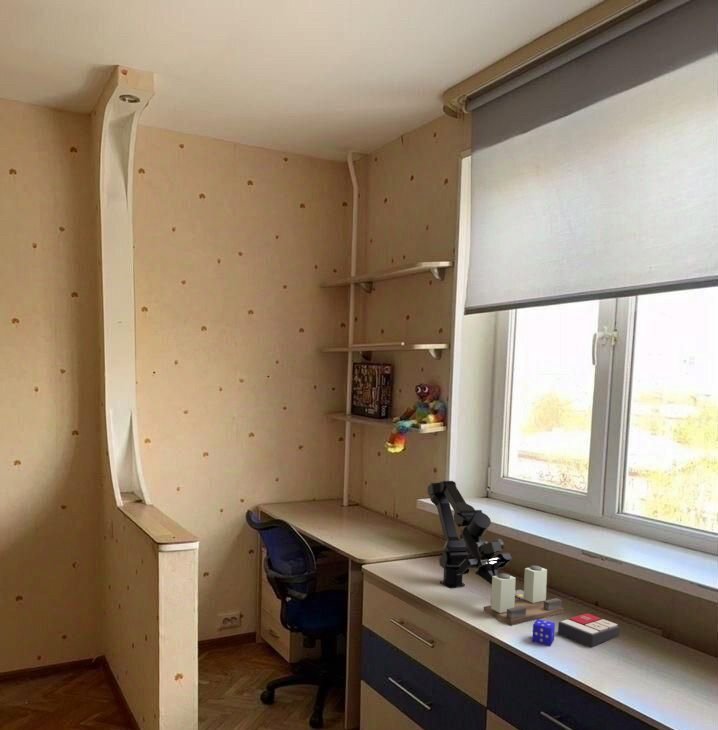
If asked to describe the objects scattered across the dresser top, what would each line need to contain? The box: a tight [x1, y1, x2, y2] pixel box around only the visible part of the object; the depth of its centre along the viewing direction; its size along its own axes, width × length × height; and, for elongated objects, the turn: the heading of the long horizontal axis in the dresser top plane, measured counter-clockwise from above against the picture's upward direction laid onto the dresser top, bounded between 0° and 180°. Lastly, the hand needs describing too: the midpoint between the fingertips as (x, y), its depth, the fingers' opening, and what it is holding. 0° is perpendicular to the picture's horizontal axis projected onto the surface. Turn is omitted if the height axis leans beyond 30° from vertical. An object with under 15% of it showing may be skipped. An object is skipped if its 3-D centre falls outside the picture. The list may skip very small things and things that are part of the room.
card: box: [515, 589, 524, 599], centre depth 215 cm, size 8×6×1 cm
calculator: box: [557, 613, 620, 648], centre depth 185 cm, size 11×4×15 cm
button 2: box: [523, 564, 548, 603], centre depth 207 cm, size 4×6×11 cm, turn 122°
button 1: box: [490, 572, 517, 613], centre depth 197 cm, size 4×6×11 cm, turn 122°
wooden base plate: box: [482, 597, 565, 626], centre depth 200 cm, size 12×23×4 cm, turn 121°
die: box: [531, 619, 556, 647], centre depth 179 cm, size 5×5×5 cm
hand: (497, 587), depth 199 cm, fingers closed, pressing on button 1
